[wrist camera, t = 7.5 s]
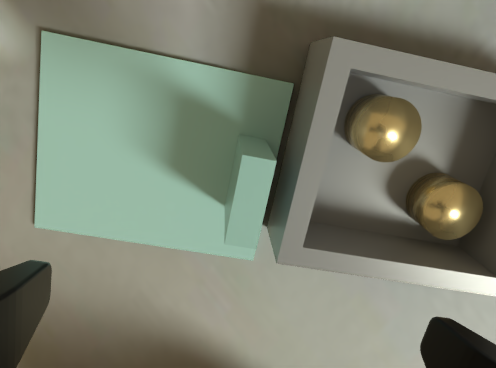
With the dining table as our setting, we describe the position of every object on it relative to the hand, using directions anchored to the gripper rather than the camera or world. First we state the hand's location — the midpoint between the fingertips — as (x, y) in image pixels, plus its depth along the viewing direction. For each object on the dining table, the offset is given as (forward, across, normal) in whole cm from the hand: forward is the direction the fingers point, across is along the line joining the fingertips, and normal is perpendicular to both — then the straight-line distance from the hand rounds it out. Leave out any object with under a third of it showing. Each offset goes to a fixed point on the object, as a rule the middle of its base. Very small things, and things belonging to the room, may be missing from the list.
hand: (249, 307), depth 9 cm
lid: (+12, +4, 0) cm, 13 cm away
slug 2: (+11, -11, 0) cm, 16 cm away
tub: (+12, -8, -2) cm, 15 cm away
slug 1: (+11, -6, -4) cm, 14 cm away
